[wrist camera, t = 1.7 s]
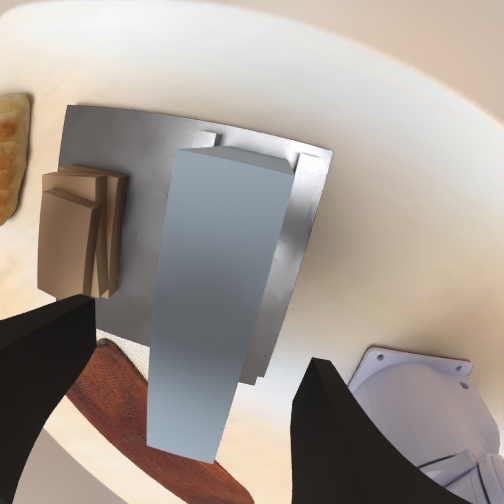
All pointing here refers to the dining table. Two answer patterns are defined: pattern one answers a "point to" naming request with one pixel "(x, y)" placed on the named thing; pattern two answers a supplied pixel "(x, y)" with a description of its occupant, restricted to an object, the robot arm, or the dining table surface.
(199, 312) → the pale blue upright panel
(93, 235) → the offcuts
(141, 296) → the metal plate
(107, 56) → the dining table surface
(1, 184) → the pastry
